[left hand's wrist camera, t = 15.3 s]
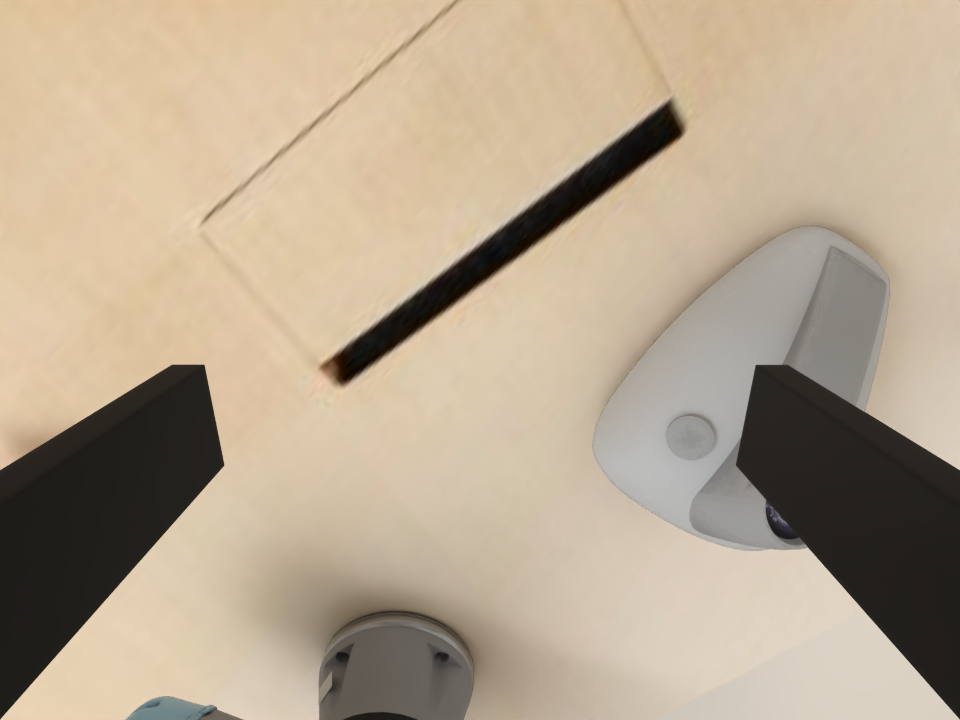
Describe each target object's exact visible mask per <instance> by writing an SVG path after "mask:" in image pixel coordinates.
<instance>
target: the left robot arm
mask: <svg viewBox="0 0 960 720" xmlns="http://www.w3.org/2000/svg"><path fill="white" fill-rule="evenodd" d="M223 466H224V461H223V456H222V451H221V446H220V441H219V436H218V431H217V426H216V421H215V416H214V411H213V406H212V401H211V396H210V391H209V386H208V380H207V375H206V370H205V365H171V366H169V367H168V368H166V369H165V370H163V371H161V372H160V373H158V374H156V375H155V376H153V377H151V378H150V379H148V380H147V381H145V382H143V383H142V384H140V385H138V386H137V387H135V388H134V389H132V390H130V391H129V392H127V393H125V394H124V395H122V396H121V397H119V398H117V399H116V400H114V401H112V402H111V403H109V404H108V405H106V406H104V407H103V408H101V409H99V410H98V411H96V412H94V413H93V414H91V415H90V416H88V417H86V418H85V419H83V420H81V421H80V422H78V423H77V424H75V425H73V426H72V427H70V428H68V429H67V430H65V431H64V432H62V433H60V434H59V435H57V436H55V437H54V438H52V439H50V440H49V441H47V442H46V443H44V444H42V445H41V446H39V447H37V448H36V449H34V450H33V451H31V452H29V453H28V454H26V455H24V456H23V457H21V458H20V459H18V460H16V461H15V462H13V463H11V464H10V465H8V466H7V467H5V468H3V469H2V470H0V719H1V718H2V717H3V716H4V714H5V713H6V712H7V711H8V710H9V709H10V708H11V706H12V705H13V704H14V703H15V702H16V701H17V700H18V699H19V697H20V696H21V695H22V694H23V693H24V692H25V691H26V689H27V688H28V687H29V686H30V685H31V684H32V683H33V682H34V680H35V679H36V678H37V677H38V676H39V675H40V674H41V672H42V671H43V670H44V669H45V668H46V667H47V666H48V665H49V663H50V662H51V661H52V660H53V659H54V658H55V657H56V655H57V654H58V653H59V652H60V651H61V650H62V649H63V648H64V646H65V645H66V644H67V643H68V642H69V641H70V640H71V639H72V637H73V636H74V635H75V634H76V633H77V632H78V631H79V629H80V628H81V627H82V626H83V625H84V624H85V623H86V622H87V620H88V619H89V618H90V617H91V616H92V615H93V614H94V612H95V611H96V610H97V609H98V608H99V607H100V606H101V605H102V603H103V602H104V601H105V600H106V599H107V598H108V597H109V595H110V594H111V593H112V592H113V591H114V590H115V589H116V588H117V586H118V585H119V584H120V583H121V582H122V581H123V580H124V578H125V577H126V576H127V575H128V574H129V573H130V572H131V571H132V569H133V568H134V567H135V566H136V565H137V564H138V563H139V561H140V560H141V559H142V558H143V557H144V556H145V555H146V554H147V552H148V551H149V550H150V549H151V548H152V547H153V546H154V544H155V543H156V542H157V541H158V540H159V539H160V538H161V537H162V535H163V534H164V533H165V532H166V531H167V530H168V529H169V528H170V526H171V525H172V524H173V523H174V522H175V521H176V520H177V518H178V517H179V516H180V515H181V514H182V513H183V512H184V511H185V509H186V508H187V507H188V506H189V505H190V504H191V503H192V501H193V500H194V499H195V498H196V497H197V496H198V495H199V494H200V492H201V491H202V490H203V489H204V488H205V487H206V486H207V484H208V483H209V482H210V481H211V480H212V479H213V478H214V477H215V475H216V474H217V473H218V472H219V471H220V470H221V469H222V467H223ZM736 466H737V467H738V469H739V470H740V471H741V472H742V473H743V474H744V475H745V477H746V478H747V479H748V480H749V481H750V482H751V483H752V484H753V486H754V487H755V488H756V489H757V490H758V491H759V492H760V494H761V495H762V496H763V497H764V498H765V499H766V500H767V501H768V503H769V504H770V505H771V506H772V507H773V508H774V509H775V511H776V512H777V513H778V514H779V515H780V516H781V517H782V518H783V520H784V521H785V522H786V523H787V524H788V525H789V526H790V528H791V529H792V530H793V531H794V532H795V533H796V534H797V535H798V537H799V538H800V539H801V540H802V541H803V542H804V543H805V544H806V546H807V547H808V548H809V549H810V550H811V551H812V552H813V554H814V555H815V556H816V557H817V558H818V559H819V560H820V561H821V563H822V564H823V565H824V566H825V567H826V568H827V569H828V571H829V572H830V573H831V574H832V575H833V576H834V577H835V578H836V580H837V581H838V582H839V583H840V584H841V585H842V586H843V588H844V589H845V590H846V591H847V592H848V593H849V594H850V595H851V597H852V598H853V599H854V600H855V601H856V602H857V603H858V605H859V606H860V607H861V608H862V609H863V610H864V611H865V612H866V614H867V615H868V616H869V617H870V618H871V619H872V620H873V622H874V623H875V624H876V625H877V626H878V627H879V628H880V629H881V631H882V632H883V633H884V634H885V635H886V636H887V637H888V638H889V640H890V641H891V642H892V643H893V644H894V645H895V646H896V648H897V649H898V650H899V651H900V652H901V653H902V654H903V655H904V657H905V658H906V659H907V660H908V661H909V662H910V663H911V665H912V666H913V667H914V668H915V669H916V670H917V671H918V672H919V674H920V675H921V676H922V677H923V678H924V679H925V680H926V682H927V683H928V684H929V685H930V686H931V687H932V688H933V689H934V691H935V692H936V693H937V694H938V695H939V696H940V697H941V699H942V700H943V701H944V702H945V703H946V704H947V705H948V706H949V708H950V709H951V710H952V711H953V712H954V713H955V714H956V715H957V717H958V718H959V719H960V470H958V469H957V468H955V467H953V466H952V465H950V464H949V463H947V462H945V461H944V460H942V459H940V458H939V457H937V456H936V455H934V454H932V453H931V452H929V451H927V450H926V449H924V448H923V447H921V446H919V445H918V444H916V443H914V442H913V441H911V440H910V439H908V438H906V437H905V436H903V435H901V434H900V433H898V432H896V431H895V430H893V429H892V428H890V427H888V426H887V425H885V424H883V423H882V422H880V421H879V420H877V419H875V418H874V417H872V416H870V415H869V414H867V413H866V412H864V411H862V410H861V409H859V408H857V407H856V406H854V405H852V404H851V403H849V402H848V401H846V400H844V399H843V398H841V397H839V396H838V395H836V394H835V393H833V392H831V391H830V390H828V389H826V388H825V387H823V386H822V385H820V384H818V383H817V382H815V381H813V380H812V379H810V378H809V377H807V376H805V375H804V374H802V373H800V372H799V371H797V370H795V369H794V368H792V367H791V366H789V365H755V370H754V375H753V380H752V385H751V391H750V396H749V401H748V406H747V411H746V416H745V421H744V426H743V431H742V436H741V441H740V446H739V451H738V456H737V461H736ZM472 691H473V662H472V658H471V655H470V652H469V650H468V648H467V647H466V645H465V644H464V642H463V641H462V640H461V639H460V638H459V637H458V636H457V635H456V634H455V633H454V632H453V631H452V630H450V629H449V628H447V627H446V626H444V625H443V624H441V623H439V622H437V621H435V620H432V619H430V618H427V617H424V616H420V615H416V614H411V613H403V612H386V613H378V614H373V615H369V616H365V617H363V618H360V619H358V620H355V621H353V622H351V623H350V624H348V625H346V626H345V627H344V628H342V629H341V630H340V631H339V632H338V633H337V634H336V635H335V636H334V637H333V638H332V640H331V641H330V643H329V645H328V647H327V649H326V652H325V655H324V658H323V661H322V665H321V668H320V673H319V720H464V717H465V714H466V711H467V708H468V705H469V703H470V699H471V695H472ZM126 720H242V719H240V718H237V717H235V716H232V715H229V714H227V713H224V712H222V711H219V710H217V707H215V706H213V705H209V706H203V705H199V704H195V703H192V702H188V701H185V700H181V699H178V698H175V697H170V696H163V697H158V698H154V699H152V700H150V701H148V702H146V703H144V704H143V705H141V706H140V707H139V708H137V709H136V710H135V711H134V712H133V713H132V714H131V715H130V716H129V717H128V718H127V719H126Z"/></svg>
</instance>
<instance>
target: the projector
mask: <svg viewBox="0 0 960 720" xmlns="http://www.w3.org/2000/svg"><path fill="white" fill-rule="evenodd" d="M889 296H890V284H889V278H888V276H887V274H886V272H885V271H884V269H883V268H882V267H881V266H880V265H879V263H877V262H876V261H875V260H874V259H873V258H872V257H871V256H870V255H868V254H867V253H866V252H864V251H863V250H862V249H861V248H859V247H858V246H856V245H855V244H853V243H852V242H850V241H849V240H847V239H846V238H844V237H843V236H841V235H839V234H837V233H835V232H833V231H831V230H828V229H826V228H822V227H817V226H806V227H799V228H795V229H792V230H789V231H787V232H785V233H783V234H781V235H779V236H778V237H776V238H774V239H773V240H771V241H770V242H768V243H766V244H765V245H764V246H762V247H761V248H759V249H758V250H756V251H755V252H753V253H752V254H751V255H749V256H748V257H747V258H745V259H744V260H743V261H742V262H740V263H739V264H738V265H736V266H735V267H734V268H732V269H731V270H730V271H729V272H727V273H726V274H725V275H724V276H723V277H721V278H720V279H719V280H718V281H717V282H715V283H714V284H713V285H712V286H711V287H709V288H708V289H707V290H706V291H705V292H704V293H703V294H702V295H701V296H699V297H698V298H697V299H696V300H695V301H694V302H693V303H692V304H691V305H690V306H689V307H688V308H687V309H686V310H685V311H684V312H682V313H681V314H680V315H679V316H678V318H677V319H676V320H675V321H674V322H673V323H672V324H671V325H670V326H669V327H668V328H667V329H666V330H665V331H664V332H663V333H662V334H661V335H660V337H659V338H658V339H657V340H656V341H655V342H654V343H653V345H652V346H651V347H650V348H649V349H648V350H647V351H646V353H645V354H644V355H643V356H642V357H641V359H640V360H639V361H638V362H637V363H636V365H635V366H634V367H633V368H632V370H631V371H630V372H629V374H628V375H627V376H626V377H625V379H624V380H623V381H622V383H621V384H620V385H619V387H618V388H617V390H616V391H615V393H614V394H613V395H612V397H611V398H610V400H609V402H608V403H607V405H606V406H605V408H604V410H603V411H602V413H601V415H600V417H599V419H598V422H597V424H596V427H595V430H594V433H593V441H592V447H593V452H594V456H595V458H596V461H597V463H598V465H599V466H600V468H601V470H602V471H603V472H604V474H605V475H606V477H607V478H608V479H609V480H610V481H611V482H612V483H613V484H614V485H615V486H616V487H617V488H618V489H619V490H620V491H621V492H623V493H624V494H625V495H626V496H628V497H629V498H631V499H632V500H634V501H635V502H636V503H638V504H639V505H641V506H642V507H644V508H645V509H647V510H649V511H650V512H652V513H653V514H655V515H657V516H658V517H660V518H662V519H663V520H665V521H667V522H669V523H671V524H672V525H674V526H676V527H678V528H680V529H682V530H684V531H686V532H688V533H690V534H692V535H694V536H697V537H699V538H702V539H704V540H707V541H709V542H712V543H715V544H718V545H721V546H725V547H729V548H733V549H738V550H745V551H760V550H767V549H777V550H790V549H804V548H807V546H806V544H805V543H804V542H803V541H802V540H801V539H800V538H799V537H798V535H797V534H796V533H795V532H794V531H793V530H792V529H791V528H790V526H789V525H788V524H787V523H786V522H785V521H784V520H783V518H782V517H781V516H780V515H779V514H778V513H777V512H776V511H775V509H774V508H773V507H772V506H771V505H770V504H769V503H768V501H767V500H766V499H765V498H764V497H763V496H762V495H761V494H760V492H759V491H758V490H757V489H756V488H755V487H754V486H753V484H752V483H751V482H750V481H749V480H748V479H747V478H746V477H745V475H744V474H743V473H742V472H741V471H740V470H739V469H738V467H737V466H736V461H737V456H738V451H739V446H740V441H741V436H742V431H743V426H744V421H745V416H746V411H747V406H748V401H749V396H750V391H751V385H752V380H753V375H754V370H755V365H789V366H791V367H792V368H794V369H795V370H797V371H799V372H800V373H802V374H804V375H805V376H807V377H809V378H810V379H812V380H813V381H815V382H817V383H818V384H820V385H822V386H823V387H825V388H826V389H828V390H830V391H831V392H833V393H835V394H836V395H838V396H839V397H841V398H843V399H844V400H846V401H848V402H849V403H851V404H852V405H854V406H856V407H857V408H859V409H861V410H862V411H865V408H866V405H867V401H868V398H869V394H870V390H871V386H872V383H873V379H874V375H875V371H876V368H877V363H878V358H879V354H880V349H881V345H882V340H883V335H884V330H885V324H886V318H887V312H888V305H889Z"/></svg>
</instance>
